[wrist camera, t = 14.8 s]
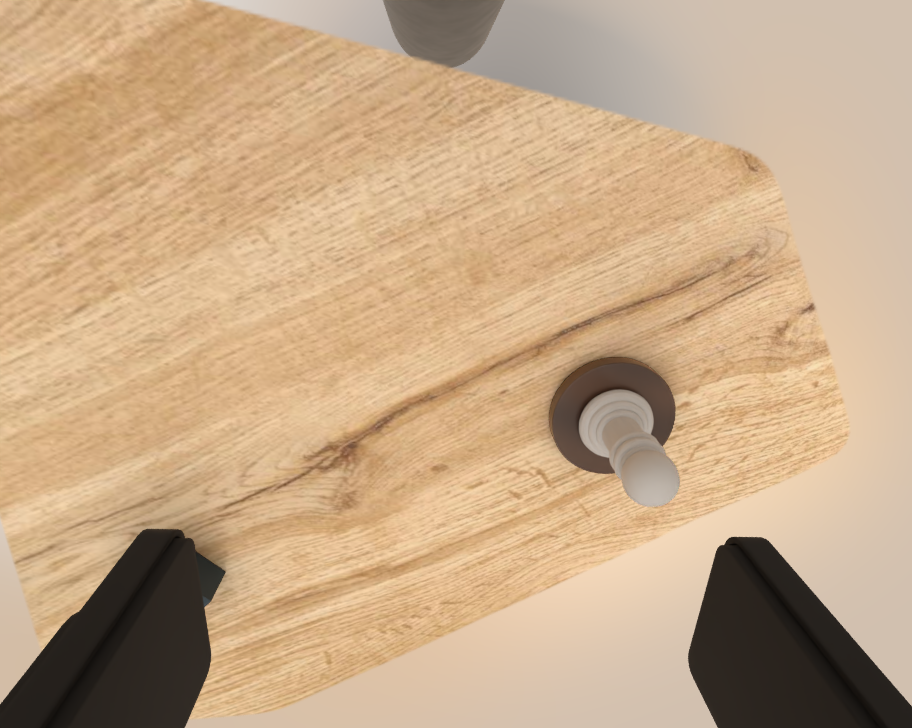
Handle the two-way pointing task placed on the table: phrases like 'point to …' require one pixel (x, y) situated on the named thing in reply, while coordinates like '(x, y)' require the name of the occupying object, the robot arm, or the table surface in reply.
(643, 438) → the chess piece
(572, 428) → the walnut chip
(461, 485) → the table surface
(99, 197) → the table surface
